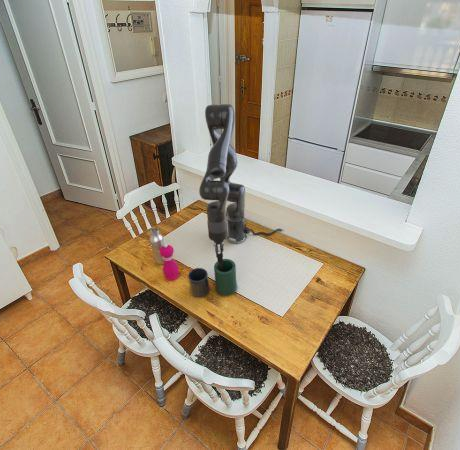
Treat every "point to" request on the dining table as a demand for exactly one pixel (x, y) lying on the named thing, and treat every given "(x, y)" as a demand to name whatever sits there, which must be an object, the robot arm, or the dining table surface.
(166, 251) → the pepper mill
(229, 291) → the green jar
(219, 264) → the bottle brush
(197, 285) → the pot
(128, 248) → the dining table surface
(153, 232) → the silver metal bottle
